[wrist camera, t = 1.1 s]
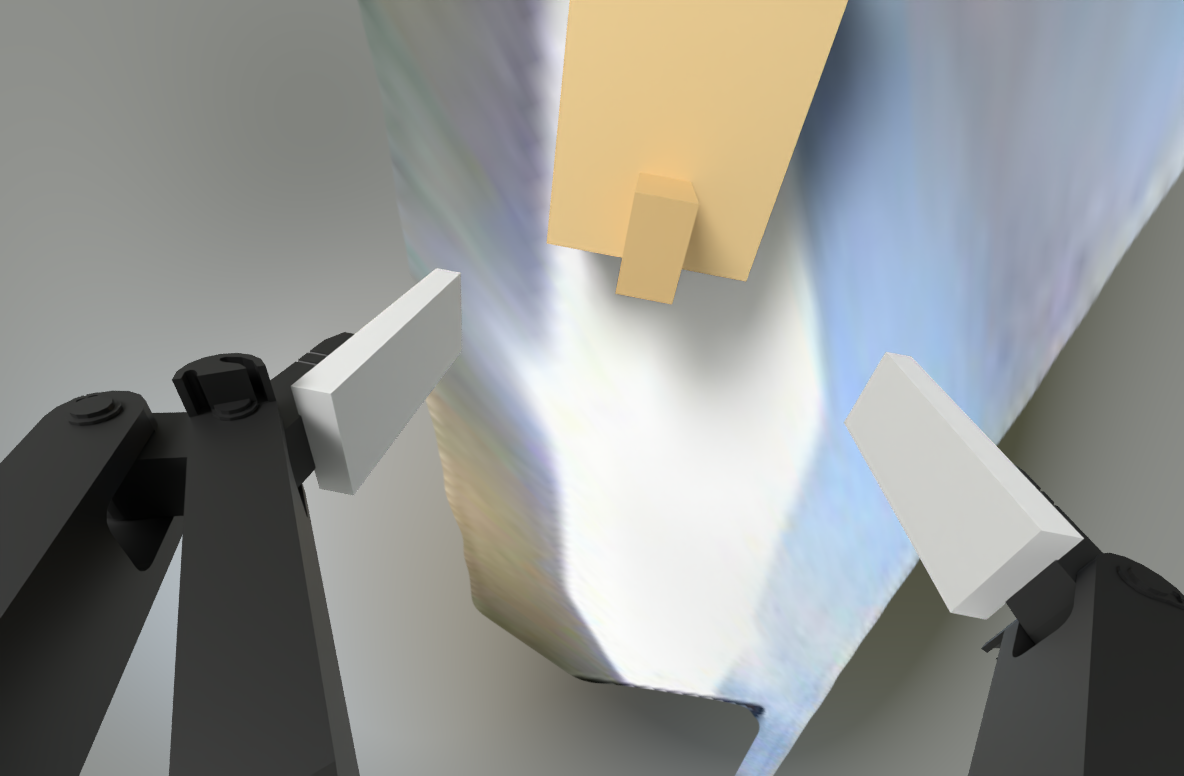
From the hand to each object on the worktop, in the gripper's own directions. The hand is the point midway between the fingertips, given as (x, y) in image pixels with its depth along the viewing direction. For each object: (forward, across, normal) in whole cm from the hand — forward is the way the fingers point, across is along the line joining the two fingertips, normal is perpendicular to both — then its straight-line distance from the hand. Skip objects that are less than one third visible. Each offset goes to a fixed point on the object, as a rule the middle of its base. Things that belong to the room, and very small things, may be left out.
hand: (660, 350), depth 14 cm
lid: (+17, 0, +7) cm, 18 cm away
